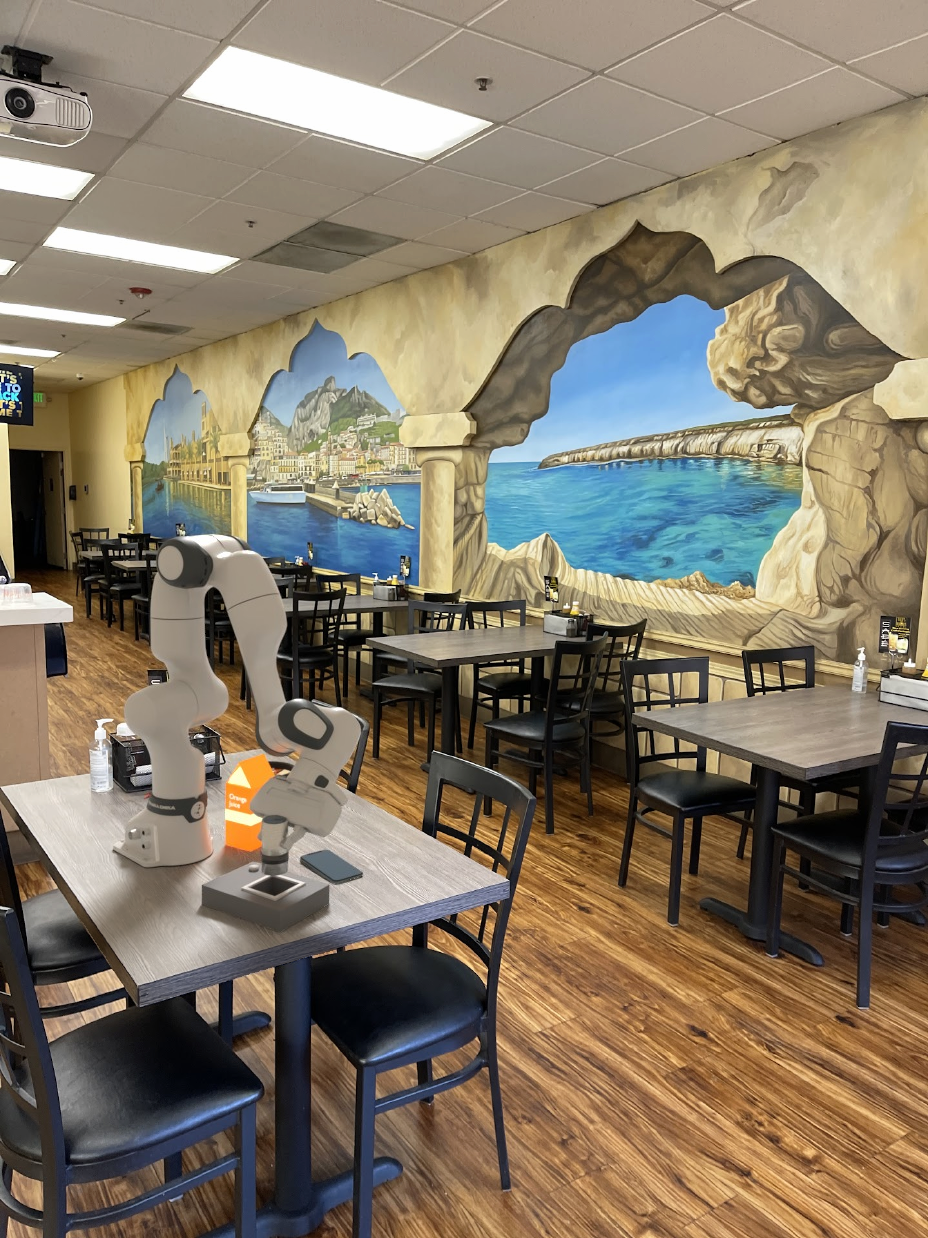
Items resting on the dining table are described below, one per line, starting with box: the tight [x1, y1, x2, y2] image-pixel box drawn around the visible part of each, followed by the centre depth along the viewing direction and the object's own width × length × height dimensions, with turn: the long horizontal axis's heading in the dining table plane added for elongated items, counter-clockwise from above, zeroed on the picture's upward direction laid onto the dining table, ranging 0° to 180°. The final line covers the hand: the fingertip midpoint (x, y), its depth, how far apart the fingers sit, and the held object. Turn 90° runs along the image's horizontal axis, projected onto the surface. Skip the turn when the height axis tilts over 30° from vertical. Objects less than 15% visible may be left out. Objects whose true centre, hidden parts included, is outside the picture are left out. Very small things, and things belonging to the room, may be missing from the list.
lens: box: [260, 815, 290, 876], centre depth 165 cm, size 5×5×10 cm
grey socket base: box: [201, 860, 330, 933], centre depth 167 cm, size 20×14×5 cm
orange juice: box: [224, 753, 275, 853], centre depth 198 cm, size 8×9×20 cm
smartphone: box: [299, 849, 364, 885], centre depth 186 cm, size 8×2×15 cm
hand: (272, 844), depth 165 cm, fingers closed on lens, 5 cm apart
